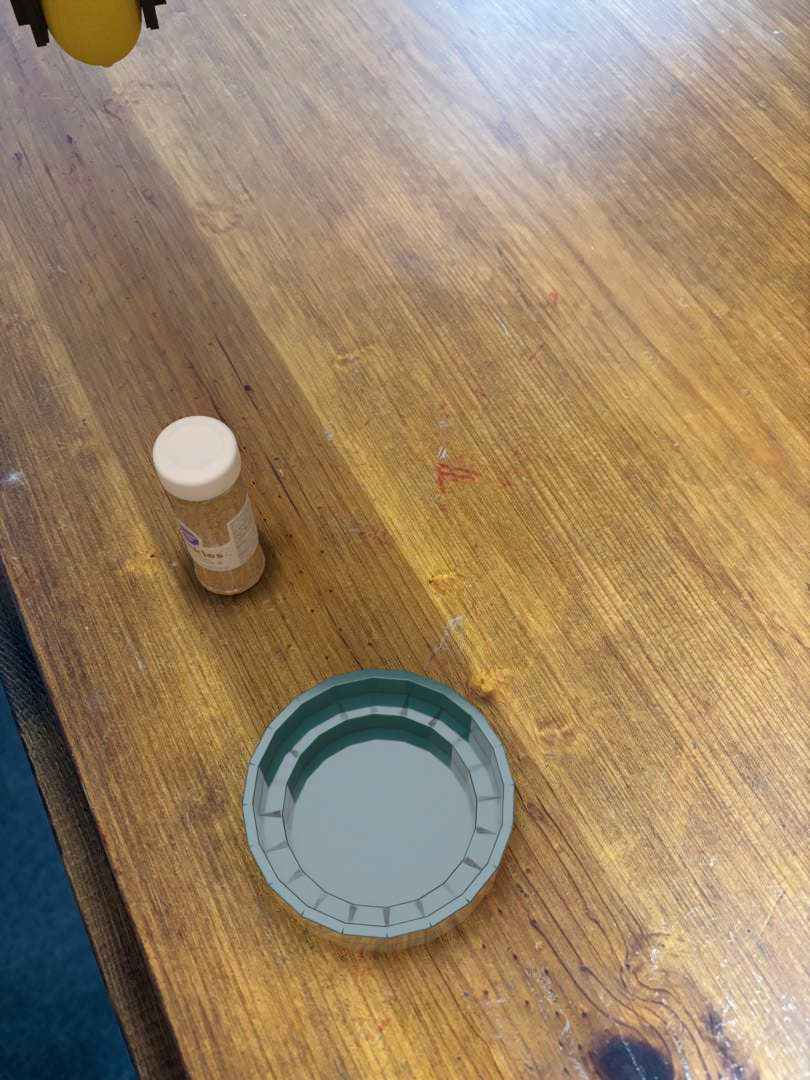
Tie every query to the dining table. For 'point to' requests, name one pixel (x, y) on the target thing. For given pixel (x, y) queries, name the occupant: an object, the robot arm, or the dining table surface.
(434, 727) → the bowl
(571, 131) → the dining table surface
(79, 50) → the lemon
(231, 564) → the sprinkles bottle
